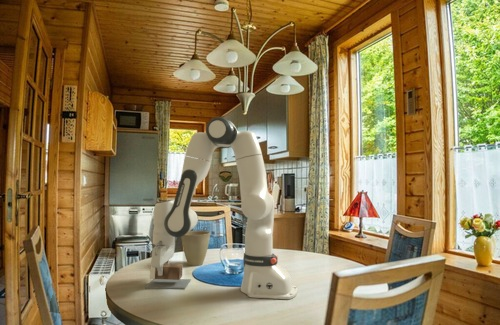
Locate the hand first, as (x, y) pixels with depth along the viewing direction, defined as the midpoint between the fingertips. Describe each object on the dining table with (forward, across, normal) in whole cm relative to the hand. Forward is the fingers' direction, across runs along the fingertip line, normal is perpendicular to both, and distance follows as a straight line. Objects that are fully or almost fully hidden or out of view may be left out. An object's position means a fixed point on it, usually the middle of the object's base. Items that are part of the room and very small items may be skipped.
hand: (162, 272), depth 138 cm
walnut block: (-1, 0, -8) cm, 8 cm away
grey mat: (+5, 0, -2) cm, 5 cm away
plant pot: (+5, +33, -7) cm, 34 cm away
